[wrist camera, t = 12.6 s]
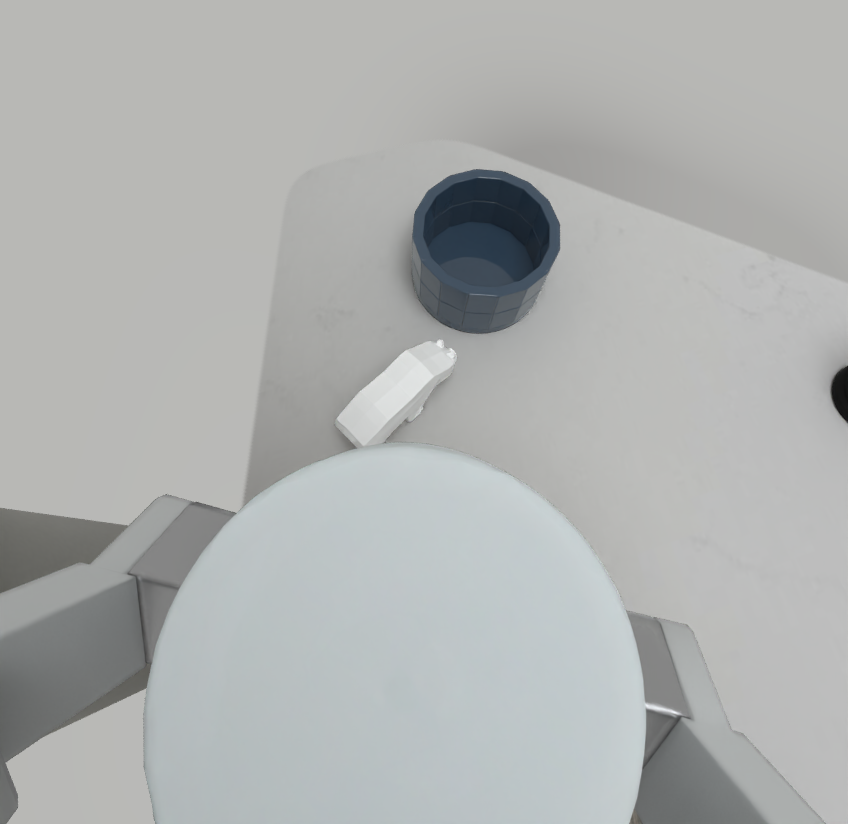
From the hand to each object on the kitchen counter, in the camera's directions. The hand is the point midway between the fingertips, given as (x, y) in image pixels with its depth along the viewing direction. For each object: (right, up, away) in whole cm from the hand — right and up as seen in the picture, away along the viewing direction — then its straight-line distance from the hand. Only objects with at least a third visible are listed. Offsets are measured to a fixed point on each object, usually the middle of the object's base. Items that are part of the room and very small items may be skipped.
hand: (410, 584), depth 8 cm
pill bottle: (0, -2, +5) cm, 6 cm away
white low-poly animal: (-1, +3, +21) cm, 21 cm away
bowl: (+3, +11, +24) cm, 27 cm away
